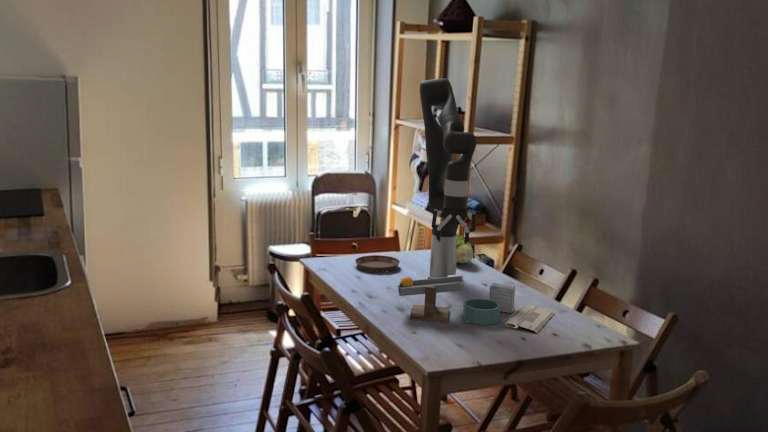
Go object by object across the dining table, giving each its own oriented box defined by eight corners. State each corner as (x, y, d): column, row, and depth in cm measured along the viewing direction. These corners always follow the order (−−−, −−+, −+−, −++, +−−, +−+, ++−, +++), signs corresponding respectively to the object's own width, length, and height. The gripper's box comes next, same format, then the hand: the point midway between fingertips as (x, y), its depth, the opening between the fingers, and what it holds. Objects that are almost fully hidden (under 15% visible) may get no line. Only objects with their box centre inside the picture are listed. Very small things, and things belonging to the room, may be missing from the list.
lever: (404, 286, 241) (402, 272, 240) (463, 281, 238) (461, 266, 237) (399, 301, 226) (397, 285, 225) (462, 295, 223) (460, 280, 222)
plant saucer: (348, 271, 276) (348, 263, 275) (363, 260, 292) (363, 252, 292) (392, 276, 271) (392, 269, 270) (404, 265, 288) (404, 257, 287)
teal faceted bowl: (478, 310, 236) (479, 296, 235) (506, 320, 227) (507, 305, 226) (455, 317, 229) (456, 302, 228) (482, 327, 220) (484, 312, 219)
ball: (407, 286, 232) (407, 274, 231) (415, 288, 229) (415, 276, 228) (398, 288, 230) (398, 276, 229) (406, 291, 227) (406, 279, 226)
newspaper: (519, 308, 242) (520, 301, 241) (554, 319, 237) (555, 312, 236) (497, 327, 222) (498, 320, 221) (534, 339, 217) (536, 332, 216)
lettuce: (455, 270, 282) (456, 242, 280) (433, 256, 301) (434, 230, 299) (480, 268, 286) (482, 241, 284) (457, 255, 305) (459, 229, 303)
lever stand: (412, 307, 236) (414, 275, 234) (448, 310, 235) (450, 278, 233) (409, 319, 225) (411, 285, 223) (447, 322, 224) (449, 288, 222)
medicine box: (513, 310, 238) (515, 285, 236) (511, 314, 234) (513, 289, 232) (490, 306, 240) (492, 282, 239) (487, 310, 236) (489, 285, 235)
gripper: (433, 193, 227) (429, 243, 230) (477, 197, 225) (473, 246, 228) (434, 190, 235) (431, 238, 238) (478, 193, 233) (474, 241, 236)
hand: (452, 242), depth 233 cm, fingers open, 8 cm apart
